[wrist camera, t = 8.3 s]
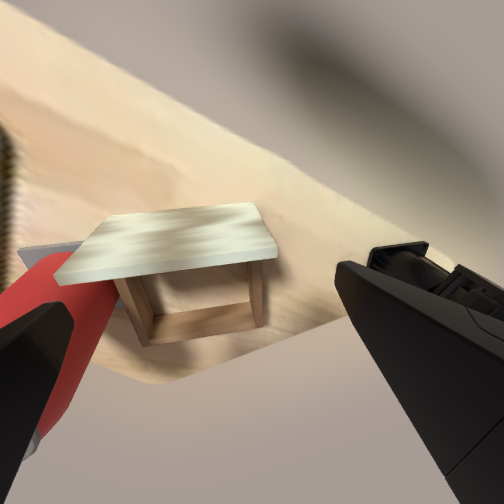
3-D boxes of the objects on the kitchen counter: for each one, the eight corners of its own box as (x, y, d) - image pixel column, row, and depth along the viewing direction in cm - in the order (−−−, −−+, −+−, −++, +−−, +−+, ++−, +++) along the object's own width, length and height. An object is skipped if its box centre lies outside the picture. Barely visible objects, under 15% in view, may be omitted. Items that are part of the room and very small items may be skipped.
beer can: (36, 237, 18) (-181, 399, 8) (129, 259, 20) (53, 407, 10) (34, 301, 21) (-130, 484, 11) (117, 314, 23) (47, 475, 13)
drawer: (252, 201, 20) (277, 247, 13) (257, 306, 26) (275, 373, 19) (108, 216, 19) (52, 275, 12) (148, 323, 25) (127, 402, 18)
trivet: (107, 238, 20) (105, 241, 19) (133, 301, 23) (131, 305, 23) (20, 247, 19) (16, 251, 18) (61, 312, 22) (58, 316, 22)
